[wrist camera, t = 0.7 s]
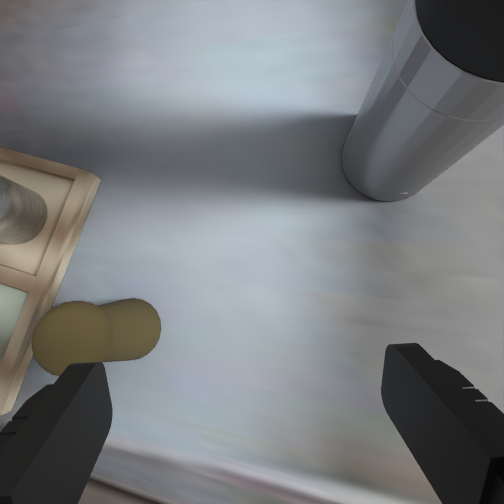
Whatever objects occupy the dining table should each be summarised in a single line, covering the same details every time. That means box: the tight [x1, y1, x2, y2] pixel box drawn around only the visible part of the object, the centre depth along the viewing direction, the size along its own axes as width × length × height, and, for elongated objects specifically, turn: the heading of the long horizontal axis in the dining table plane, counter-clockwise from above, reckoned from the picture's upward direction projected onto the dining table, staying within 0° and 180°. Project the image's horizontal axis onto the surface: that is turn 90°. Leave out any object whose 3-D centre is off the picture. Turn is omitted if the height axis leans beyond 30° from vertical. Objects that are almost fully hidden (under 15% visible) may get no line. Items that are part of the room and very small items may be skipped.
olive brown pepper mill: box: [32, 298, 161, 376], centre depth 26 cm, size 6×6×11 cm
